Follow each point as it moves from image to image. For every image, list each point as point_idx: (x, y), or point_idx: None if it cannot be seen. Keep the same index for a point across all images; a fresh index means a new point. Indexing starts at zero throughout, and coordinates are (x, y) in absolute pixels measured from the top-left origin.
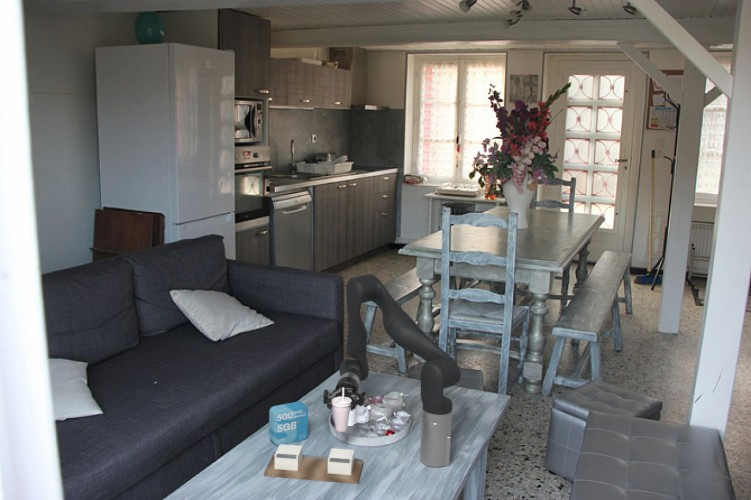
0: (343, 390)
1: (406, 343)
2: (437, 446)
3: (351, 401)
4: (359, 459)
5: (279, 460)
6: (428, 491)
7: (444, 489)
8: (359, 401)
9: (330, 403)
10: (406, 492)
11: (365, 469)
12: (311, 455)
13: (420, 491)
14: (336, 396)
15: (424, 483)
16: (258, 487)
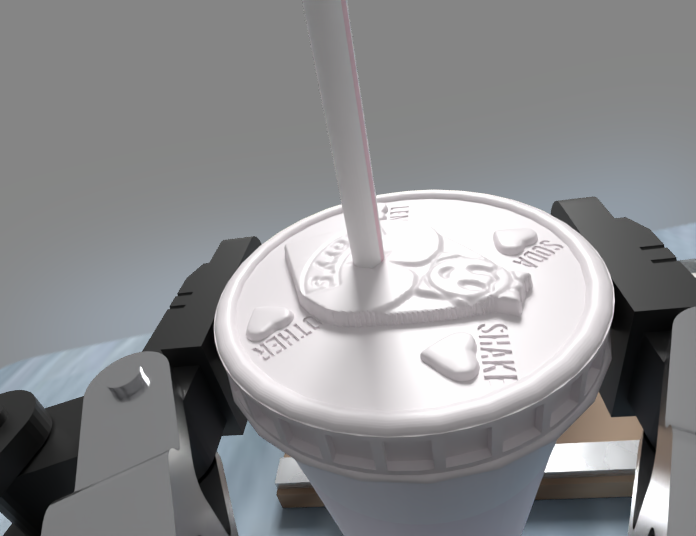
0: (328, 42)
1: None
2: None
3: (227, 285)
4: (296, 479)
5: None
6: (68, 358)
7: (3, 379)
8: (68, 415)
9: (558, 202)
10: (147, 338)
11: (273, 454)
12: (623, 467)
13: (96, 352)
14: (648, 513)
15: (50, 399)
16: (689, 250)
